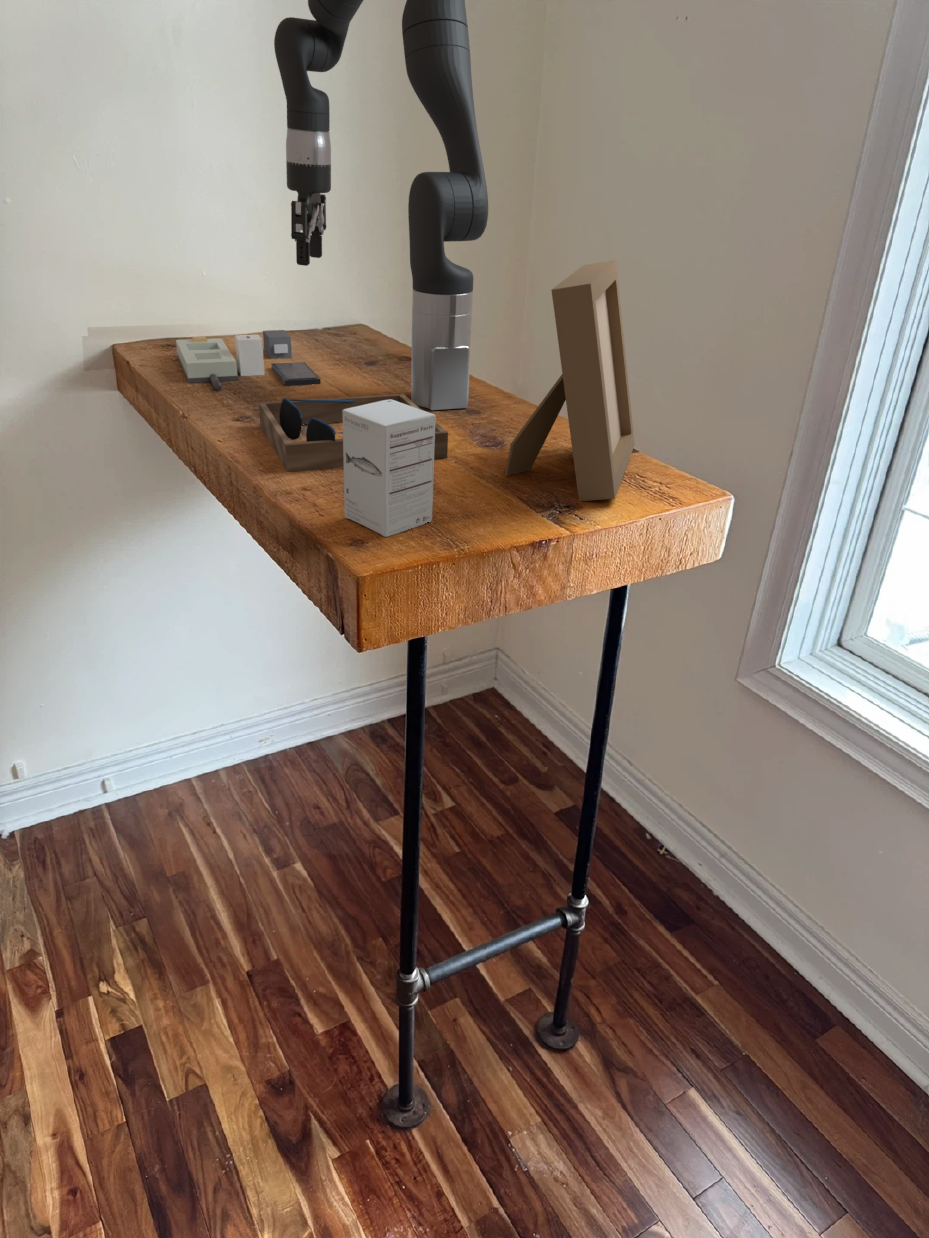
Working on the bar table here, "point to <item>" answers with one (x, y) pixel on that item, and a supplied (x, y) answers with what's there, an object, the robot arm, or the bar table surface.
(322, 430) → the sunglasses
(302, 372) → the phone
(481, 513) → the bar table surface
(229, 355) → the strip
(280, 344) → the plug
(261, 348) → the charger
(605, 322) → the photo frame
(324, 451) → the valet tray
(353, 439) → the supplement box
